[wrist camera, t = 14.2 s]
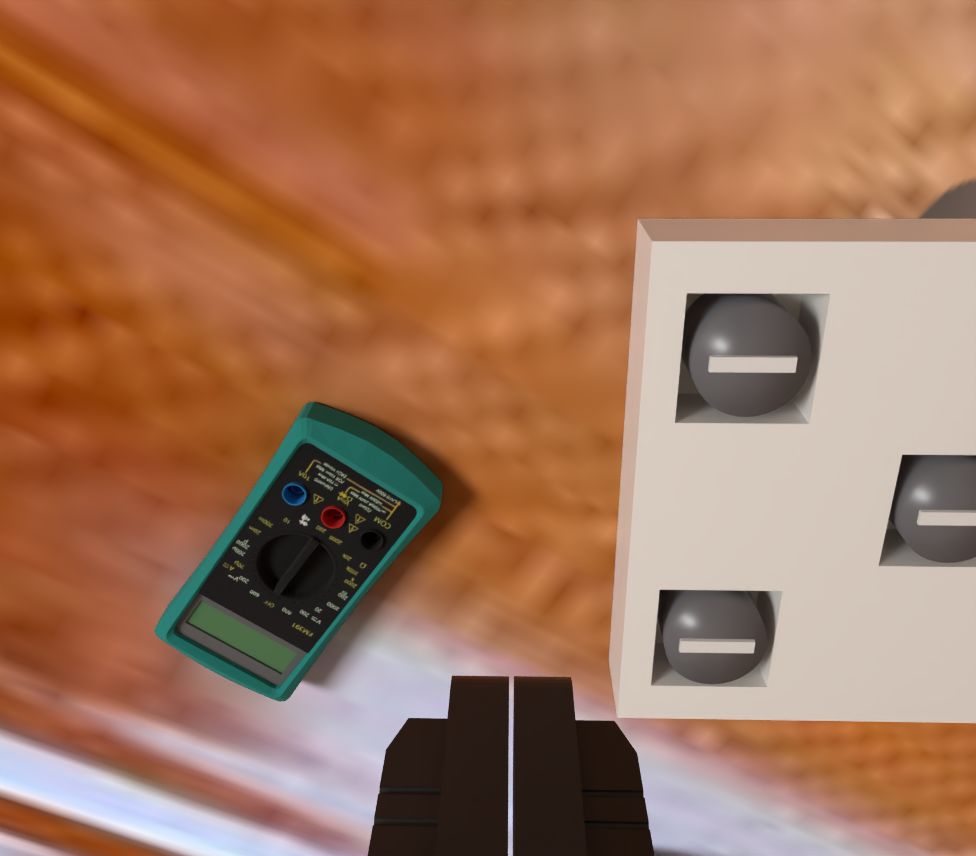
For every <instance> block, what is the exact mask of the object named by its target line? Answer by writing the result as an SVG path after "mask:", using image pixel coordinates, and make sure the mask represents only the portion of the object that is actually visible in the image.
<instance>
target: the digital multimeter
mask: <svg viewBox="0 0 976 856" xmlns="http://www.w3.org/2000/svg"><path fill="white" fill-rule="evenodd" d="M295 452H296V453H295ZM293 455H294V456H293ZM288 462H289V463H288ZM286 465H287V466H286ZM279 475H280V476H279ZM277 478H278V479H277ZM270 488H271V489H270ZM442 491H443V485H442V482H441V481H440V480H439V479H438V478H437V477H436V476H435V475H434V474H433V473H432V472H431V471H430V470H429V469H428V468H427V467H426V466H425V465H424V463H423V462H422V461H421V460H420V459H419V458H417V457H416V456H415V455H414V454H413V453H412V452H410V451H409V450H408V449H407V448H406V447H405V446H403V445H402V444H401V443H400V442H399V441H397V440H396V439H394V438H393V437H391V436H390V435H388V434H386V433H385V432H383V431H382V430H380V429H378V428H377V427H375V426H374V425H371V424H369V423H367V422H365V421H362V420H360V419H358V418H356V417H353V416H351V415H349V414H347V413H344V412H341V411H338V410H335V409H333V408H330V407H327V406H324V405H322V404H319V403H316V402H310V403H307V404H306V405H305V406H304V407H303V409H302V410H301V412H300V414H299V415H298V417H297V418H296V420H295V422H294V423H293V425H292V427H291V428H290V430H289V432H288V433H287V435H286V437H285V438H284V440H283V442H282V443H281V445H280V447H279V448H278V450H277V451H276V453H275V455H274V456H273V458H272V459H271V461H270V462H269V464H268V466H267V467H266V469H265V470H264V472H263V473H262V475H261V476H260V478H259V480H258V481H257V483H256V484H255V486H254V487H253V489H252V491H251V492H250V494H249V495H248V497H247V498H246V500H245V501H244V503H243V505H242V506H241V507H240V509H239V510H238V512H237V513H236V515H235V516H234V517H233V519H232V520H231V522H230V523H229V524H228V526H227V527H226V529H225V530H224V531H223V533H222V534H221V536H220V537H219V539H218V540H217V541H216V543H215V544H214V546H213V547H212V548H211V550H210V551H209V553H208V554H207V555H206V557H205V558H204V559H203V560H202V562H201V563H200V564H199V566H198V567H197V568H196V570H195V571H194V572H193V574H192V575H191V576H190V577H189V579H188V580H187V581H186V583H185V584H184V585H183V587H182V588H181V589H180V590H179V592H178V593H177V594H176V596H175V597H174V598H173V600H172V601H171V602H170V603H169V605H168V606H167V608H166V610H165V611H164V613H163V615H162V617H161V618H160V620H159V622H158V624H157V625H156V627H155V634H156V636H157V637H159V638H160V639H161V640H163V641H164V642H166V643H167V644H169V645H170V646H172V647H173V648H175V649H176V650H178V651H179V652H181V653H183V654H184V655H186V656H187V657H189V658H191V659H192V660H194V661H196V662H197V663H199V664H201V665H202V666H204V667H206V668H208V669H209V670H211V671H213V672H215V673H217V674H219V675H221V676H223V677H224V678H226V679H228V680H230V681H233V682H235V683H237V684H239V685H241V686H244V687H246V688H248V689H250V690H252V691H255V692H257V693H259V694H262V695H264V696H266V697H269V698H271V699H274V700H277V701H286V700H287V699H288V698H289V697H290V696H291V695H292V693H293V692H294V690H295V689H296V687H297V686H298V685H299V683H300V682H301V680H302V679H303V678H304V676H305V675H306V673H307V672H308V671H309V669H310V668H311V666H312V665H313V663H314V662H315V661H316V659H317V658H318V656H319V655H320V654H321V652H322V651H323V649H324V648H325V647H326V645H327V644H328V642H329V641H330V640H331V638H332V637H333V636H334V635H335V633H336V632H337V631H338V629H339V628H340V627H341V625H342V624H343V623H344V622H345V620H346V619H347V618H348V616H349V615H350V614H351V612H352V611H353V610H354V609H355V607H356V606H357V605H358V603H359V602H360V601H361V599H362V598H363V597H364V596H365V594H366V593H367V592H368V591H369V590H370V589H371V587H372V586H373V585H374V584H375V583H376V581H377V580H378V579H379V578H380V577H381V576H382V574H383V573H384V572H385V571H386V570H387V568H388V567H389V566H390V565H391V564H392V563H393V561H394V560H395V559H396V558H397V557H398V556H399V554H400V553H401V552H402V551H403V550H404V548H405V547H406V546H407V545H408V544H409V543H410V542H411V541H412V540H413V538H414V537H415V536H416V535H417V534H418V533H419V532H420V531H421V529H422V528H423V527H424V526H425V525H426V524H427V523H428V522H429V521H430V519H431V518H432V517H433V516H434V515H435V514H436V513H437V512H438V510H439V508H440V506H441V498H442ZM414 518H415V519H414ZM413 519H414V520H413ZM336 562H337V563H336ZM254 573H255V574H254ZM258 581H259V582H258ZM261 585H262V586H261ZM332 587H333V588H332ZM267 591H268V592H267ZM281 599H282V600H281ZM284 600H285V601H284ZM314 600H315V601H314ZM288 601H289V602H288ZM305 602H307V603H305Z"/></svg>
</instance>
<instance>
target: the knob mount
mask: <svg viewBox="0 0 976 856" xmlns="http://www.w3.org/2000/svg"><path fill="white" fill-rule="evenodd" d="M704 293H754V294H772V295H773V296H774V297H775V298H776V299H777V300H778V301H779V302H780V303H781V304H782V305H783V306H784V307H785V308H786V309H787V311H788V312H789V313H790V314H791V315H792V316H793V317H794V318H795V319H796V320H797V321H798V322H799V323H800V324H801V326H802V327H803V328H804V330H805V332H806V333H807V335H808V338H809V341H810V344H811V350H812V360H811V367H810V371H809V374H808V376H807V379H806V380H805V382H804V384H803V386H802V387H801V389H800V390H799V391H798V392H797V394H796V395H795V396H794V397H793V398H792V399H791V400H789V401H788V402H787V403H786V404H784V405H783V406H781V407H779V408H778V409H776V410H774V411H771V412H769V413H766V414H763V415H759V416H753V417H738V416H733V415H729V414H726V413H723V412H721V411H719V410H717V409H715V408H714V407H712V406H711V405H710V404H708V403H707V402H706V401H705V400H704V398H703V397H702V396H701V394H700V393H699V391H698V390H697V388H696V385H695V383H694V381H693V379H692V377H691V375H690V373H689V371H688V369H687V367H686V365H685V363H684V361H683V359H682V357H681V351H682V340H683V329H684V319H685V313H686V312H687V310H688V309H689V307H690V306H691V305H692V303H694V302H695V301H696V300H697V299H698V298H699V297H700V296H701V295H703V294H704ZM902 455H976V219H638V223H637V238H636V253H635V269H634V284H633V299H632V314H631V330H630V345H629V360H628V376H627V391H626V406H625V421H624V437H623V452H622V467H621V483H620V498H619V513H618V528H617V544H616V559H615V574H614V590H613V605H612V620H611V635H610V651H609V665H610V672H611V678H612V685H613V692H614V699H615V705H616V712H617V718H673V719H741V720H808V721H876V722H943V723H976V557H974V558H972V559H969V560H965V561H961V562H955V563H941V562H935V561H931V560H928V559H925V558H923V557H921V556H920V555H918V554H917V553H915V552H914V551H913V550H912V549H911V548H910V546H909V545H908V544H907V543H906V541H905V540H904V539H903V537H902V536H901V535H900V533H899V532H898V531H897V529H896V528H895V527H894V525H893V524H892V523H891V521H890V520H889V514H890V510H891V505H892V500H893V496H894V491H895V486H896V481H897V477H898V472H899V467H900V463H901V458H902ZM660 590H737V591H750V592H751V595H752V597H753V599H754V602H755V604H756V607H757V609H758V611H759V614H760V616H761V619H762V621H763V624H764V626H765V628H766V632H767V637H768V643H767V649H766V652H765V654H764V656H763V658H762V660H761V661H760V662H759V664H758V665H757V666H756V667H755V668H754V669H753V670H752V671H750V672H749V673H748V674H746V675H745V676H743V677H741V678H739V679H737V680H734V681H731V682H727V683H722V684H703V683H697V682H694V681H691V680H689V679H687V678H685V677H683V676H681V675H680V674H679V673H678V672H676V671H675V669H674V668H673V667H672V666H671V664H670V663H669V661H668V658H667V655H666V652H665V647H664V643H663V639H662V635H661V631H660V627H659V623H658V618H657V613H658V602H659V591H660Z"/></svg>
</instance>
